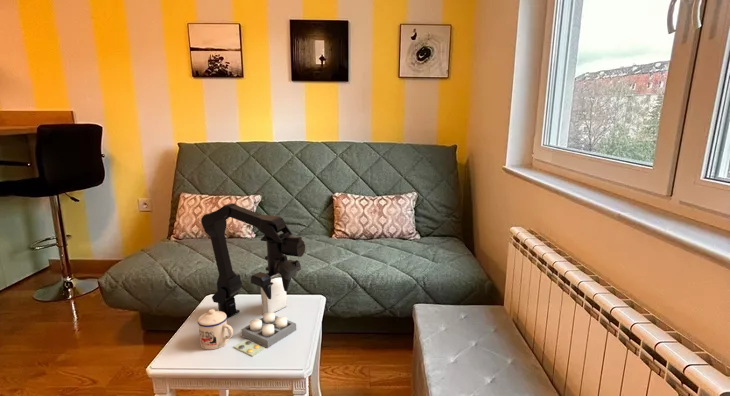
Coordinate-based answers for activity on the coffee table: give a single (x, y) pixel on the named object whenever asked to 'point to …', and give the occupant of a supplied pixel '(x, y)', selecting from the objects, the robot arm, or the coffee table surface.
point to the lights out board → (262, 338)
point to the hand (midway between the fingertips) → (277, 294)
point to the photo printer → (274, 297)
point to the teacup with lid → (214, 329)
